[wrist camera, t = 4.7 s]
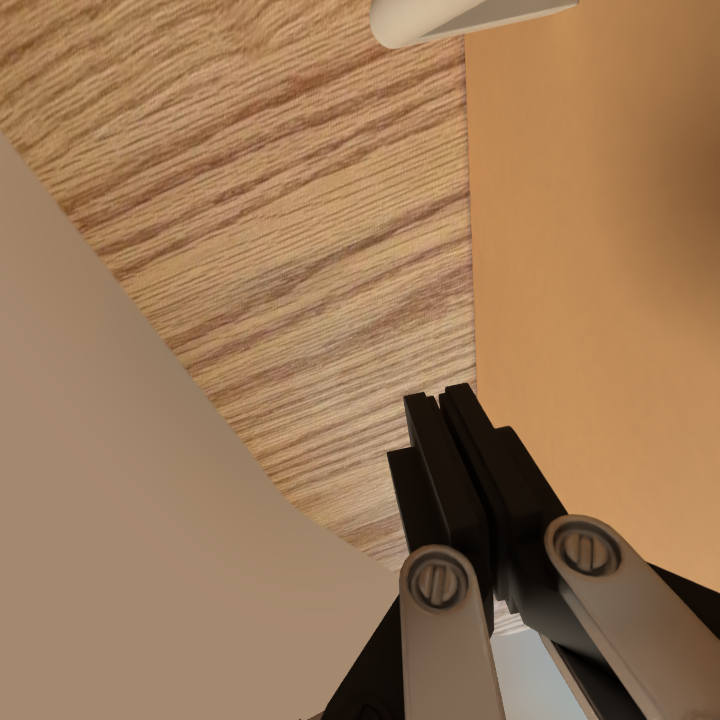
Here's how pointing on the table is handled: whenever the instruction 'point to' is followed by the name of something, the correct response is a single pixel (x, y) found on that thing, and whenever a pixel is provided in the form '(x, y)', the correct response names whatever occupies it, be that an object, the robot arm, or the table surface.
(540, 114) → the cupboard door
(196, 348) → the table surface
